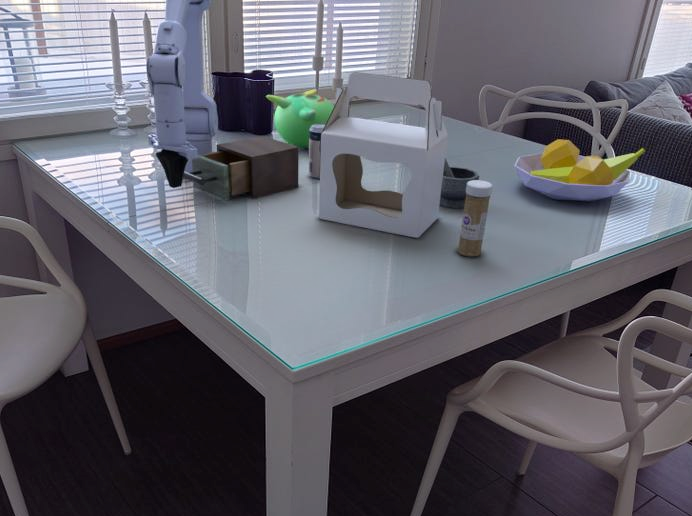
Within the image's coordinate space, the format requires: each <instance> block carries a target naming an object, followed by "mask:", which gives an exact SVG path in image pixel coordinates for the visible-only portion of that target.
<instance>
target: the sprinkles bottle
mask: <svg viewBox="0 0 692 516" xmlns="http://www.w3.org/2000/svg"><path fill="white" fill-rule="evenodd" d="M492 192H493V184H492V183H491V182H489V181H486V180H482V179H481V180H480V179H479V180H472V181H469V182H468V183H467V187H466V201H465V206H464V207H463V214H462V219H461V225H460V231H459V239H458V240H459V241H458V247H457V248H456V249H457V252H458V253H459V254H460V255H462V256H464V257H469V258H473V257H474V258H475V257H478V256H480V255H481V254H482V246H483V241H484V236H485V231H486V224H487V218H488V210H489V203H490V198H491V196H492Z"/></svg>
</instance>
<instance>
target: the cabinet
mask: <svg viewBox="0 0 692 516" xmlns="http://www.w3.org/2000/svg"><path fill="white" fill-rule="evenodd" d="M215 147H216V152H217V151H222V150H223V151H226V152H229V153H232V154H235V155H238V156H240V157H243V158H246V159H249V160H250V183H251V191H249V192H245V193H241V194H240V195H244V196H246V197H249V198H251V199H256V198H259V197H264V196H267V195H272V194H275V193H279V192H283V191H286V190H290V189H294V188H299V166H300V165H299V163H300V162H299V158H300V152H299V150H300V147H297V146H294V145H292V144H290V143H288V142H283V141H280V140H277V139H274V138H271V137H268V136H266V135H265V136H264V135H259V136H255V137H249V138H244V139H238V140H233V141H229V142H223V143H218V144H217V143H216V146H215Z"/></svg>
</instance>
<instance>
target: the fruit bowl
mask: <svg viewBox="0 0 692 516" xmlns="http://www.w3.org/2000/svg"><path fill="white" fill-rule="evenodd" d="M580 152H581V150H580V149H579V148H578V147H577V146H576V145H575V144H574V143H573V142H572V141H571V140H569V139H559V138H558V139H556V140H554V141H552V142H550V143H549V144H548V145H545V147H544V150H543V152H540V153H533V154H529V155H528V154H527V155H521V156H518V158H517V160H516V161H515V163H514V169H515V172H516V174H517V176H518V177H519V179H520V180H521V182H522V183H523V185H524V186H525V187H527V188H529V189H531V190H533V191H536V192H537V193H539V194H542V195H544V196H546V197H548V198H551V199H553V200H555V201H573V202H575V201H576V202H595V201H598V200H602V199H606V198H610V197H613V196H614V195H615V194H617V193H619V192H620V191H621V190H622V189H623V188H624V187H626V185H628V184H629V182H630V181H631V175H630V174H631V171H630V170H628V169H630V167H631V166H632V165H634V164H635V162H636V161H638V158H639V157H641V156H642V155H643V154H644V153H646V150H645V148H643V147H642V148H640V149H639V150H638V151H636V152H635V153H634V152H632V153H626V154H622V155H618V156H613V157H609V158H604V159H603V158H602V157H600V156H599V155H598V154H597V155H586V156H584V155H580Z"/></svg>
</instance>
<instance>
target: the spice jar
mask: <svg viewBox="0 0 692 516" xmlns="http://www.w3.org/2000/svg"><path fill="white" fill-rule="evenodd" d="M324 127H325V124H313V125H312V126H311V128H310V130H309V148H308V176H310V177H311V178H313V179H318V180H320V161H321V133H322V131H323V129H324Z"/></svg>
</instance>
